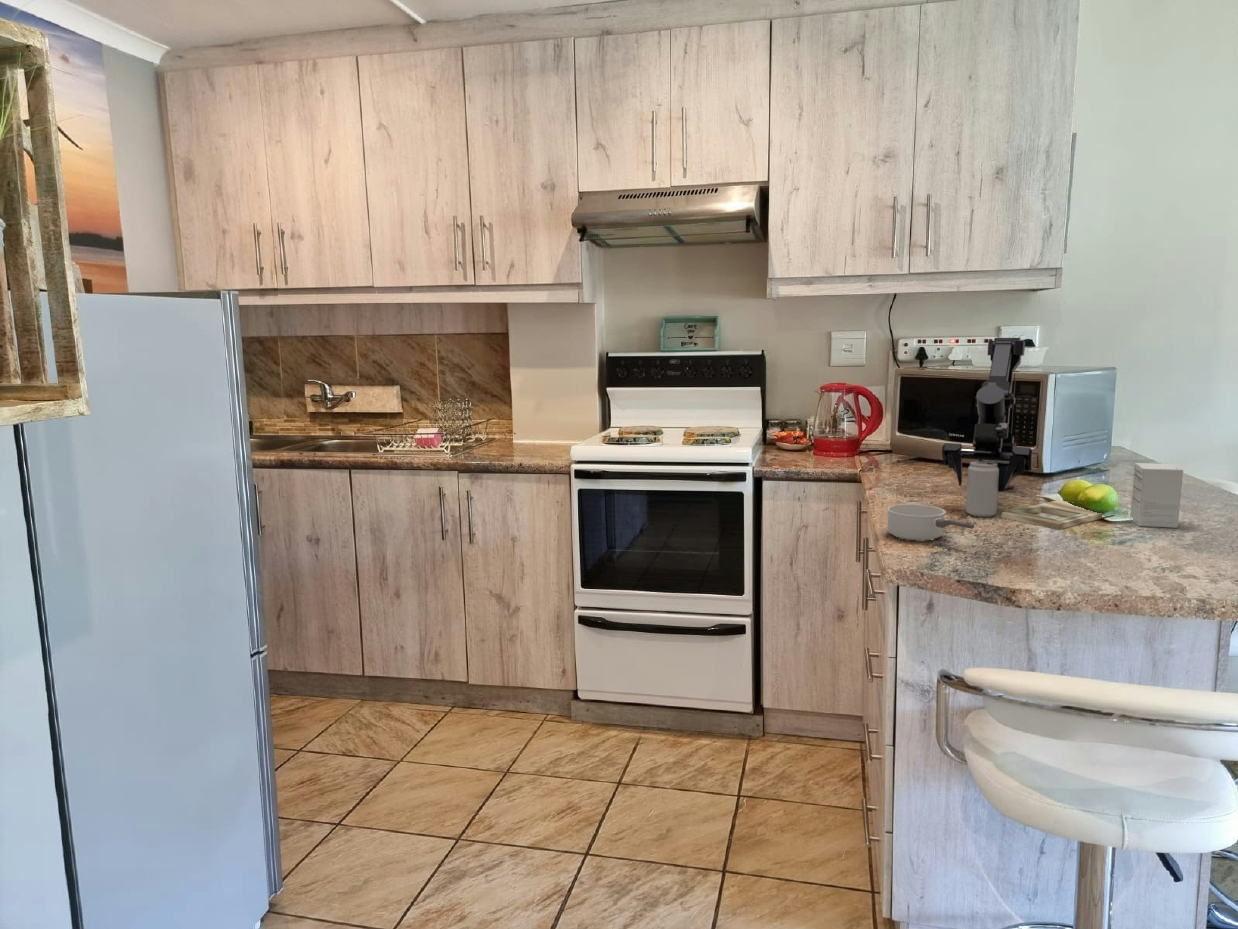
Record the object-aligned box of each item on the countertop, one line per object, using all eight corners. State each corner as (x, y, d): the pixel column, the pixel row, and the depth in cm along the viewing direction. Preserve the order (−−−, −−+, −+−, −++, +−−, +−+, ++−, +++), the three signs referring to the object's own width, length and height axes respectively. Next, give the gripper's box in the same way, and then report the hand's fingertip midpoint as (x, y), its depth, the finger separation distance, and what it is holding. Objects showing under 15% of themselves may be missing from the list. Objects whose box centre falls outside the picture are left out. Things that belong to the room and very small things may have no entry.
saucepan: (948, 557, 154) (949, 528, 153) (873, 533, 172) (874, 507, 171) (992, 549, 159) (993, 521, 158) (915, 527, 177) (916, 501, 176)
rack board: (1057, 505, 194) (1057, 499, 194) (1114, 515, 183) (1114, 509, 183) (1001, 517, 183) (1002, 511, 183) (1058, 529, 172) (1059, 523, 172)
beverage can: (999, 518, 182) (1002, 465, 180) (968, 517, 184) (971, 464, 182) (992, 512, 189) (995, 460, 186) (962, 511, 190) (965, 460, 188)
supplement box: (1167, 520, 178) (1173, 463, 176) (1178, 528, 171) (1184, 469, 169) (1128, 518, 181) (1134, 462, 178) (1137, 526, 174) (1143, 467, 171)
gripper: (945, 408, 190) (934, 462, 183) (1035, 411, 181) (1028, 468, 173) (948, 437, 198) (938, 490, 191) (1034, 442, 189) (1028, 498, 181)
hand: (981, 486), depth 184 cm, fingers open, 9 cm apart
